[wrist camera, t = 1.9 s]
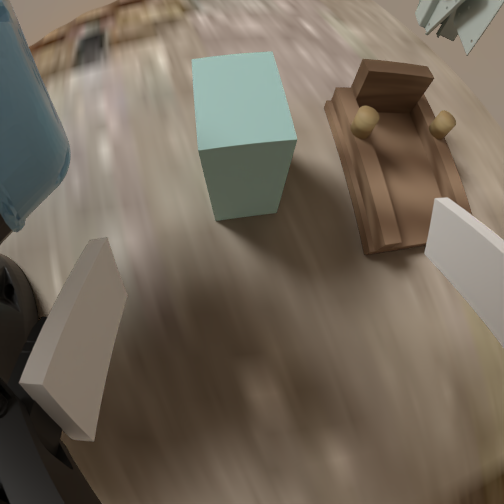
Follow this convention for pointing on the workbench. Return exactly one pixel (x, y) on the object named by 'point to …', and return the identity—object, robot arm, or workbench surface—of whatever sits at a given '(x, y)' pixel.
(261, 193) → the mint green box
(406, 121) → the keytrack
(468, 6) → the bracket
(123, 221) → the workbench surface
